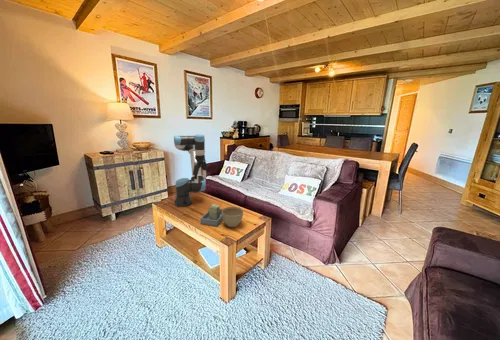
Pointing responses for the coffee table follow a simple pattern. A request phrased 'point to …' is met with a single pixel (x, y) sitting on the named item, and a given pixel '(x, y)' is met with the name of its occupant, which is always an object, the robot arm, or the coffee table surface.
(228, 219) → the planter bowl
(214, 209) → the olive block
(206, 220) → the bin
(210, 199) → the coffee table surface
